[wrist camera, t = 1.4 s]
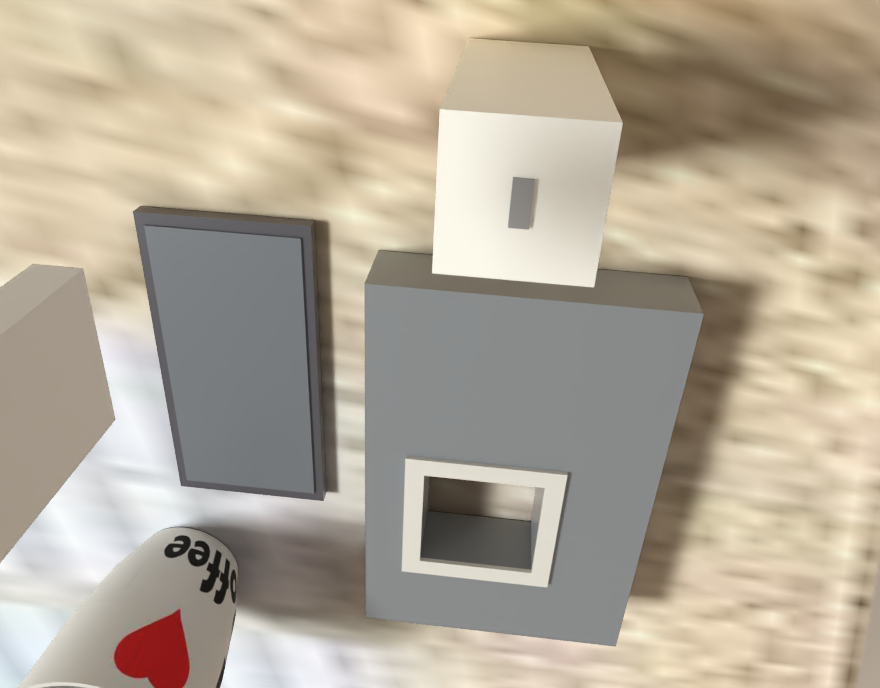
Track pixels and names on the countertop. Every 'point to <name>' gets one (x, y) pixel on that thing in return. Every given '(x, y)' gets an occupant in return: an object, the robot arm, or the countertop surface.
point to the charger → (524, 164)
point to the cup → (150, 620)
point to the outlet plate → (517, 441)
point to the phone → (238, 347)
